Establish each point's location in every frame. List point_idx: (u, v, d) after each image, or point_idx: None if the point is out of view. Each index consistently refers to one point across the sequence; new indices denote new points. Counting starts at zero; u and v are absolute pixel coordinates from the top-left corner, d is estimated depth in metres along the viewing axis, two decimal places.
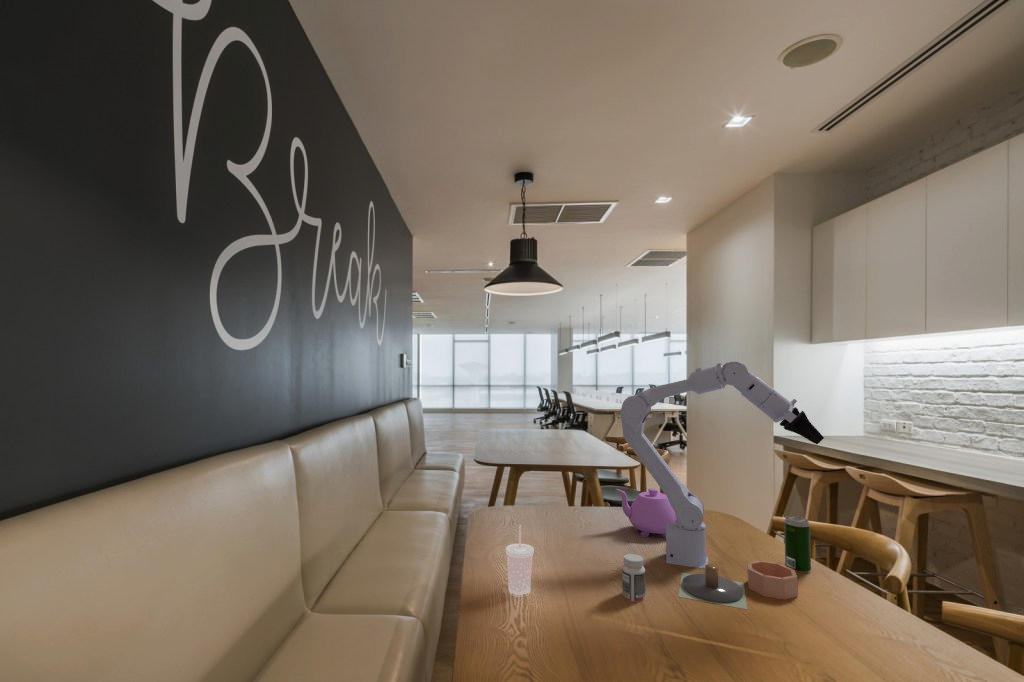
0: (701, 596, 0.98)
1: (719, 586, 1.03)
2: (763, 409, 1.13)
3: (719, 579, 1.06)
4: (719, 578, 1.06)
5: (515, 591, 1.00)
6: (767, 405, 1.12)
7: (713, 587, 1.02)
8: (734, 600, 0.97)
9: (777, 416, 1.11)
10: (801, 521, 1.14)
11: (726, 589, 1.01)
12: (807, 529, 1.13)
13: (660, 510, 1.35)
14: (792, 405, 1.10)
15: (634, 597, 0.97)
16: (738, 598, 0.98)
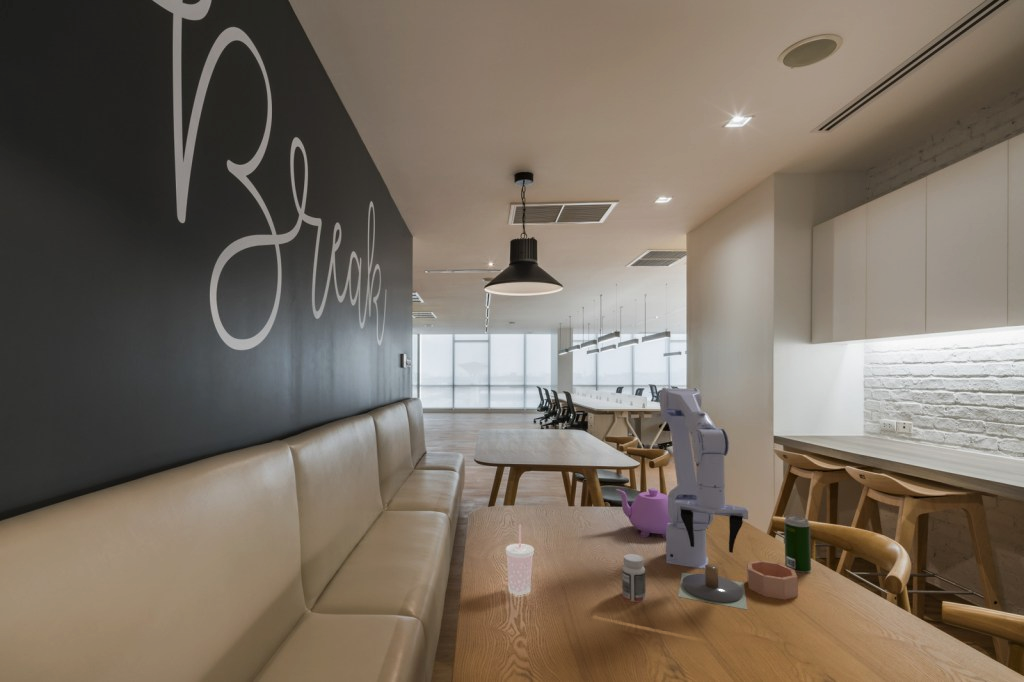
0: (701, 596, 0.98)
1: (719, 586, 1.03)
2: None
3: (719, 579, 1.06)
4: (719, 578, 1.06)
5: (515, 591, 1.00)
6: None
7: (713, 587, 1.02)
8: (734, 600, 0.97)
9: None
10: (801, 521, 1.14)
11: (726, 589, 1.01)
12: (807, 529, 1.13)
13: (660, 510, 1.35)
14: (699, 508, 1.02)
15: (634, 597, 0.97)
16: (738, 598, 0.98)
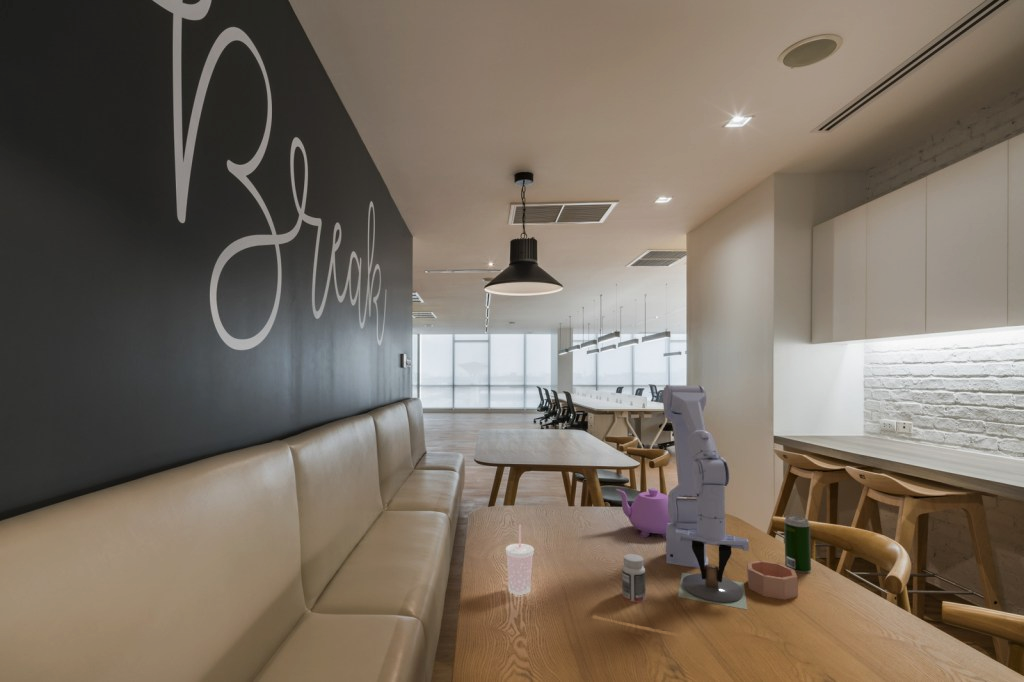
0: (701, 596, 0.98)
1: (719, 586, 1.03)
2: None
3: None
4: None
5: (515, 591, 1.00)
6: None
7: (713, 587, 1.02)
8: (734, 600, 0.97)
9: None
10: (801, 521, 1.14)
11: (726, 589, 1.01)
12: (807, 529, 1.13)
13: (660, 510, 1.35)
14: (699, 539, 1.02)
15: (634, 597, 0.97)
16: (738, 598, 0.98)
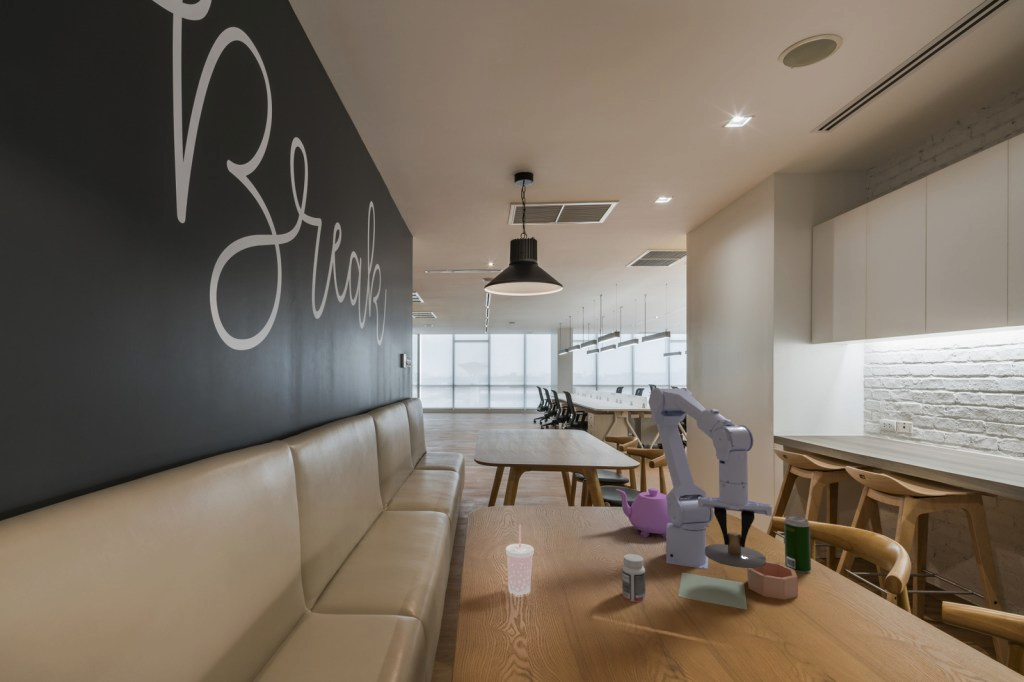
0: (723, 561, 0.99)
1: (742, 554, 1.03)
2: None
3: (742, 548, 1.06)
4: (742, 548, 1.07)
5: (515, 591, 1.00)
6: None
7: (736, 554, 1.02)
8: (757, 565, 0.98)
9: None
10: (801, 521, 1.14)
11: (749, 556, 1.02)
12: (807, 529, 1.13)
13: (659, 510, 1.35)
14: (722, 505, 1.03)
15: (634, 597, 0.97)
16: (761, 564, 0.98)
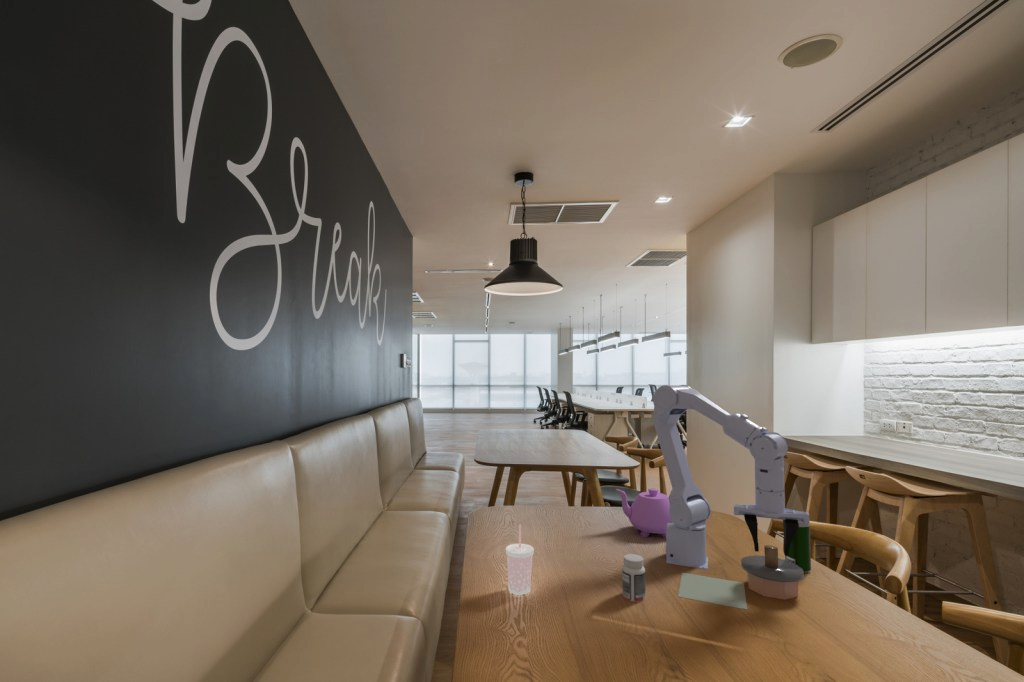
0: (761, 575, 0.99)
1: (779, 567, 1.03)
2: None
3: (778, 560, 1.07)
4: (778, 560, 1.07)
5: (515, 591, 1.00)
6: None
7: (773, 567, 1.02)
8: (795, 580, 0.98)
9: None
10: None
11: (786, 569, 1.02)
12: (807, 529, 1.13)
13: (660, 510, 1.35)
14: (759, 512, 1.03)
15: (634, 597, 0.97)
16: (799, 578, 0.99)
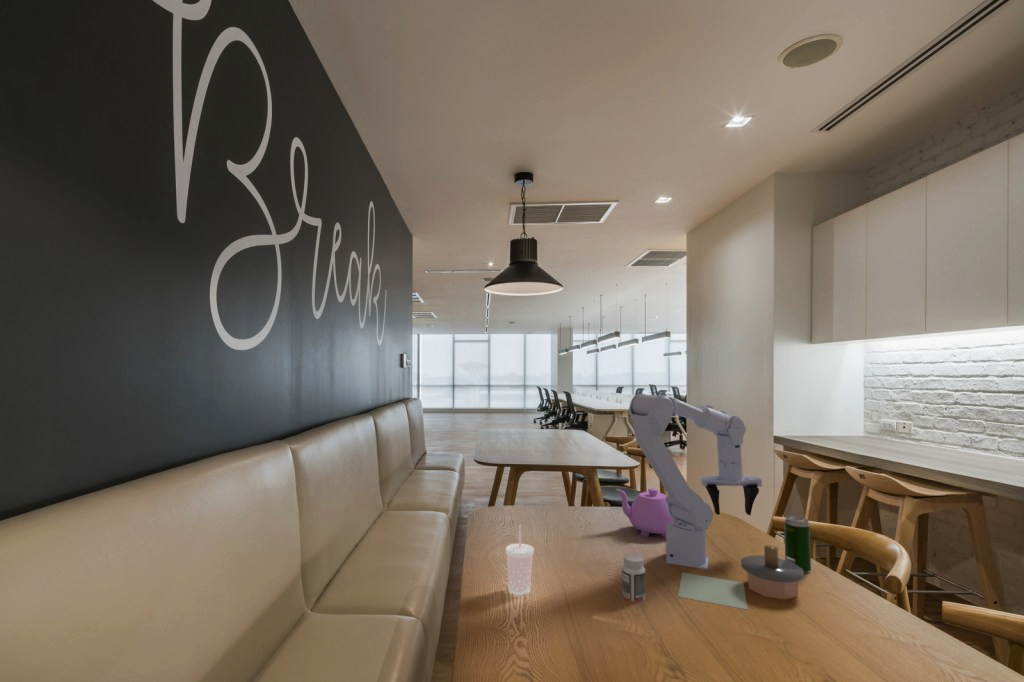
0: (761, 575, 0.99)
1: (779, 567, 1.03)
2: None
3: (778, 560, 1.07)
4: (778, 560, 1.07)
5: (515, 591, 1.00)
6: None
7: (773, 567, 1.02)
8: (795, 580, 0.98)
9: None
10: (801, 521, 1.14)
11: (786, 569, 1.02)
12: (807, 529, 1.13)
13: (660, 510, 1.35)
14: (724, 482, 1.23)
15: (634, 597, 0.97)
16: (799, 578, 0.99)
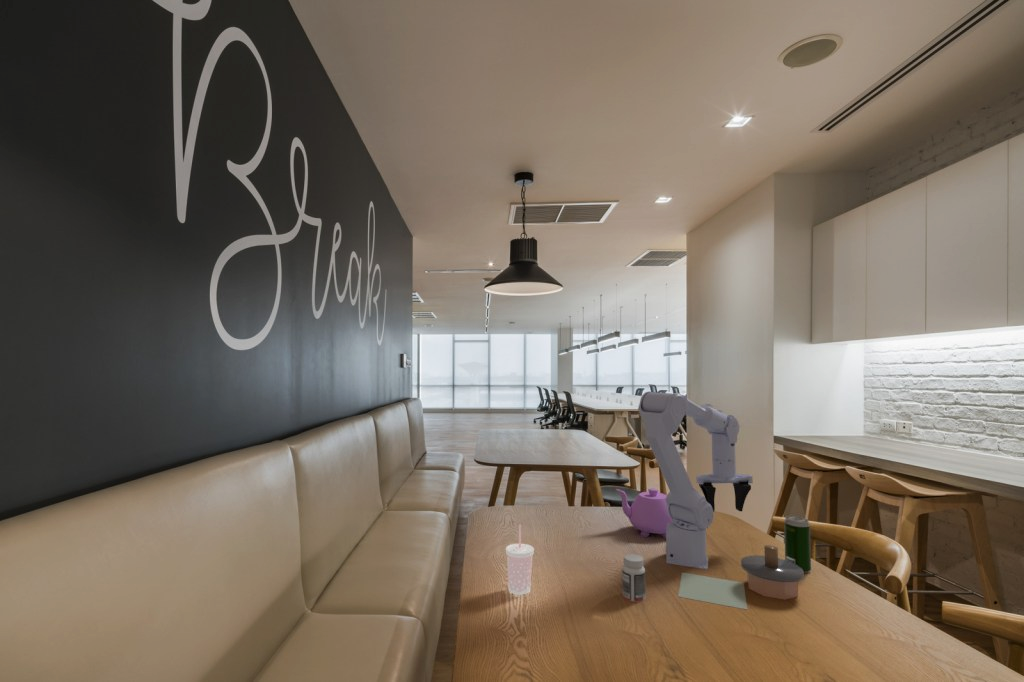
0: (761, 575, 0.99)
1: (779, 567, 1.03)
2: None
3: (778, 560, 1.07)
4: (778, 560, 1.07)
5: (515, 591, 1.00)
6: (712, 462, 1.29)
7: (773, 567, 1.02)
8: (795, 580, 0.98)
9: None
10: (801, 521, 1.14)
11: (786, 569, 1.02)
12: (807, 529, 1.13)
13: (660, 510, 1.35)
14: (720, 479, 1.25)
15: (634, 597, 0.97)
16: (799, 578, 0.99)
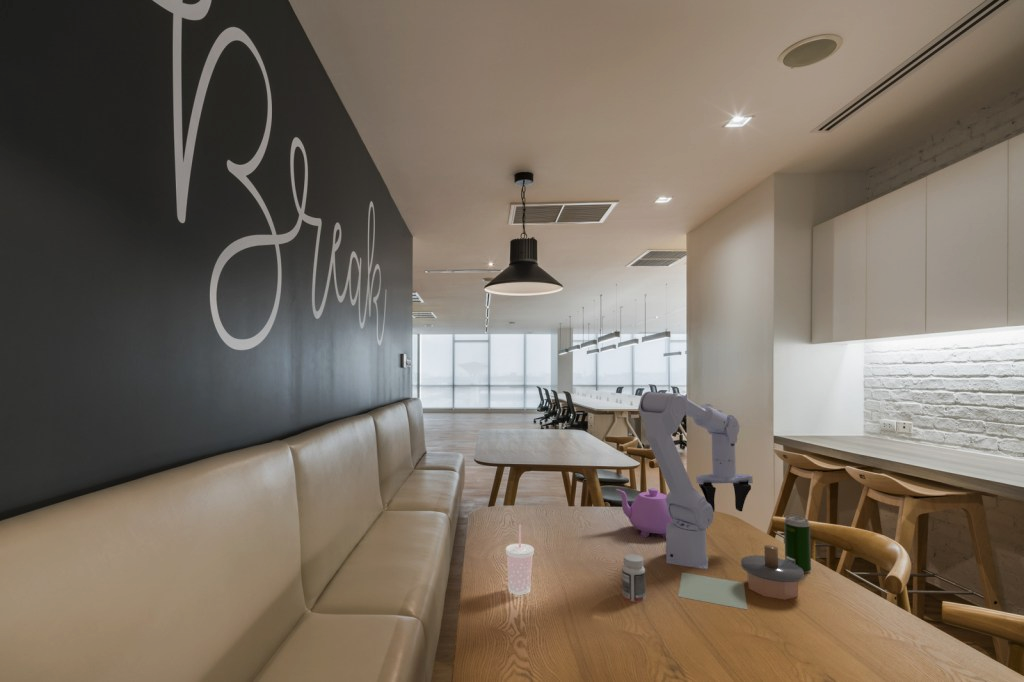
0: (761, 575, 0.99)
1: (779, 567, 1.03)
2: None
3: (778, 560, 1.07)
4: (778, 560, 1.07)
5: (515, 591, 1.00)
6: (712, 462, 1.29)
7: (773, 567, 1.02)
8: (795, 580, 0.98)
9: None
10: (801, 521, 1.14)
11: (786, 569, 1.02)
12: (807, 529, 1.13)
13: (660, 510, 1.35)
14: (720, 479, 1.25)
15: (634, 597, 0.97)
16: (799, 578, 0.99)
